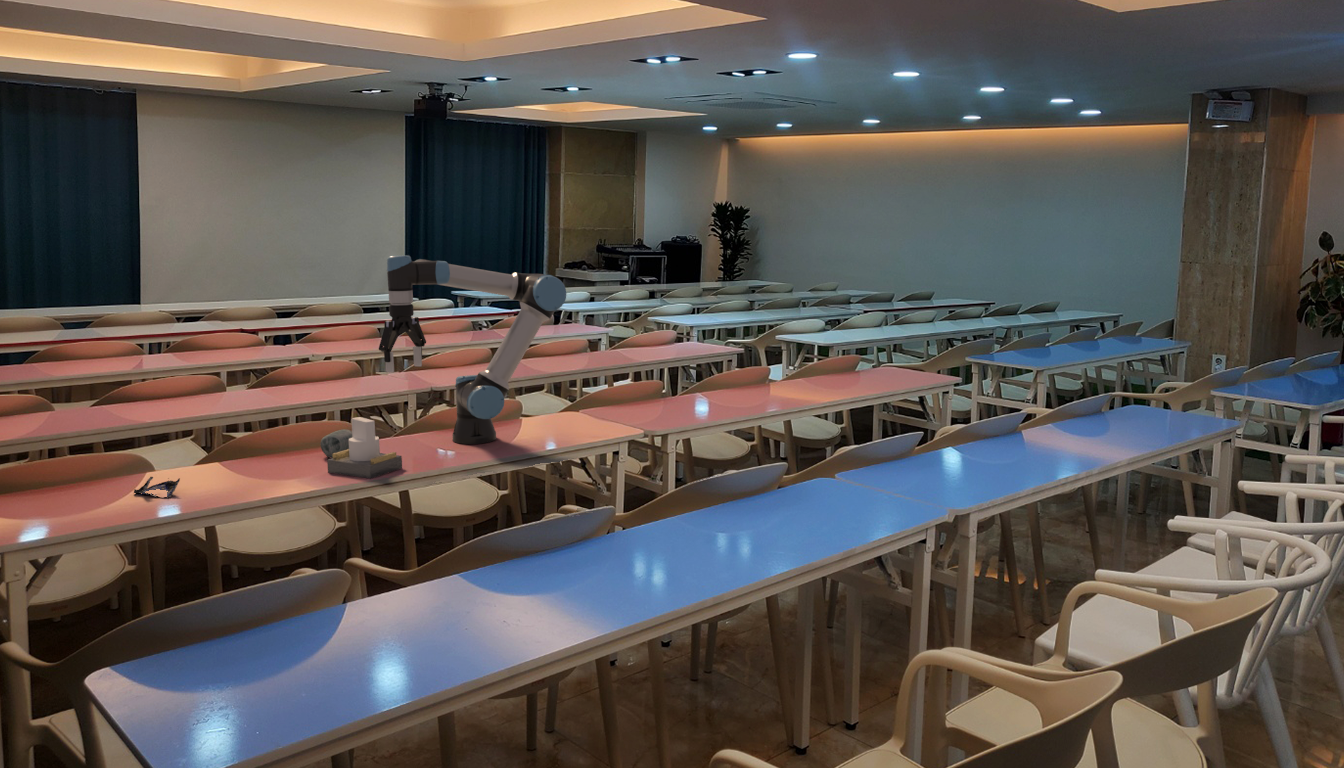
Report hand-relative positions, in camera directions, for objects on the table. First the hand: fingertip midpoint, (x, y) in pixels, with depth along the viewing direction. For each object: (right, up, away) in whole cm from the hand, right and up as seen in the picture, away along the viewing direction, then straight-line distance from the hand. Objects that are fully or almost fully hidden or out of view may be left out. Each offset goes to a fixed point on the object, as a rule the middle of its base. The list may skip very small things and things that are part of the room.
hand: (404, 369), depth 323 cm
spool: (-23, -28, +5) cm, 37 cm away
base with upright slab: (-8, -28, -16) cm, 33 cm away
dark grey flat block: (-8, -32, -16) cm, 36 cm away
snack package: (-58, -36, -42) cm, 81 cm away
